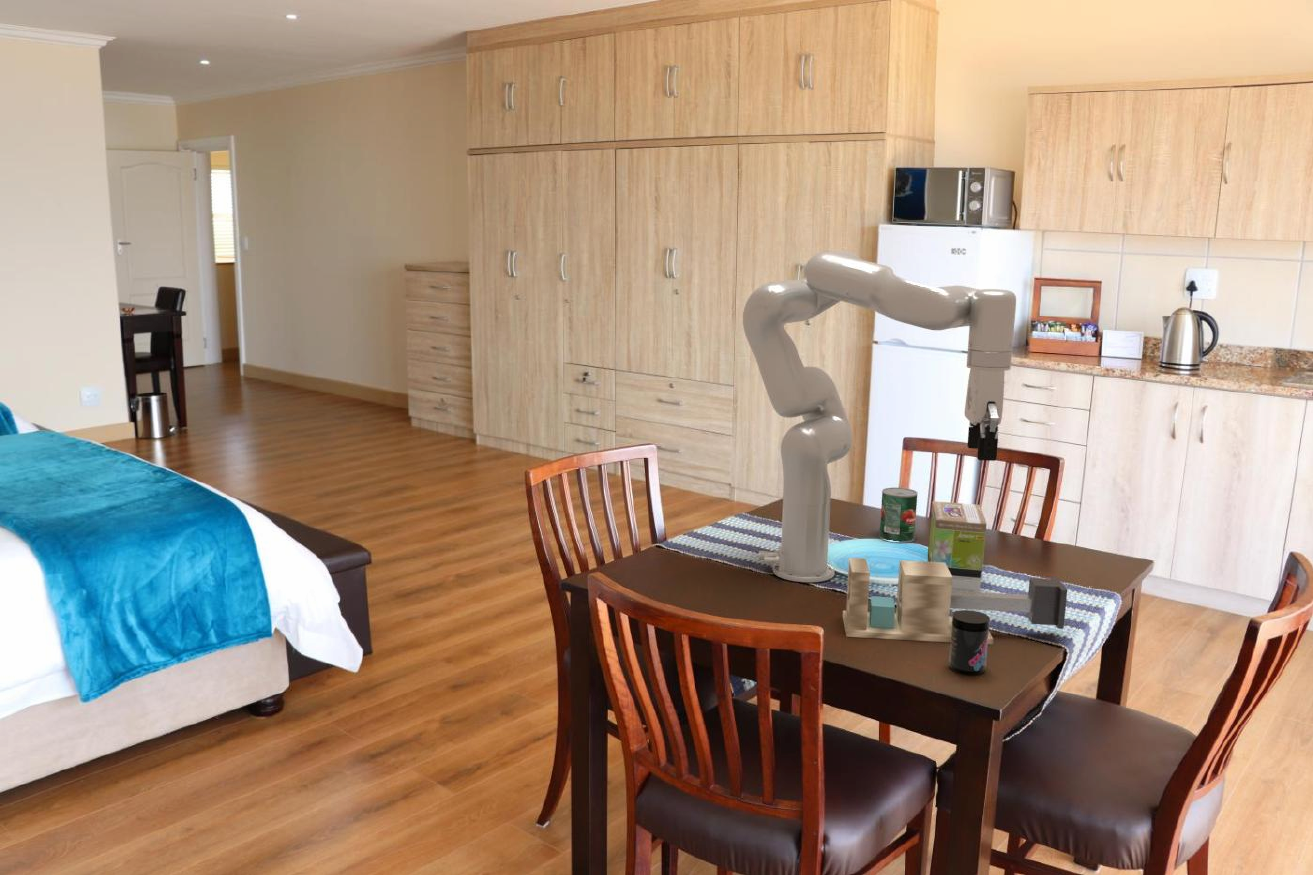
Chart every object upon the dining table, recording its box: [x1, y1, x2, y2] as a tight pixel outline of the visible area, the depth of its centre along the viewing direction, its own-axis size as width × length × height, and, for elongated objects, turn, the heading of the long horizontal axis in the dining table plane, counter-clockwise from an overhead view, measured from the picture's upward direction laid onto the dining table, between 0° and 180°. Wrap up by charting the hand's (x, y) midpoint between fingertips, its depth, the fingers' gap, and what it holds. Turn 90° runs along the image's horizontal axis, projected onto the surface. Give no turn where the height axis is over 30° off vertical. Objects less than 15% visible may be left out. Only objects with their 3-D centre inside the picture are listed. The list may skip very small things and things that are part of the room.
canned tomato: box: [878, 486, 918, 544], centre depth 245 cm, size 8×8×11 cm
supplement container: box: [948, 609, 991, 676], centre depth 174 cm, size 6×6×9 cm
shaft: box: [950, 576, 1068, 630], centre depth 189 cm, size 26×7×7 cm, turn 84°
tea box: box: [926, 501, 987, 592], centre depth 216 cm, size 15×10×15 cm, turn 168°
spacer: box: [869, 595, 896, 629], centre depth 191 cm, size 4×5×4 cm
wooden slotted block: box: [842, 557, 994, 646], centre depth 190 cm, size 25×10×12 cm, turn 84°
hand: (981, 454), depth 194 cm, fingers open, 9 cm apart
